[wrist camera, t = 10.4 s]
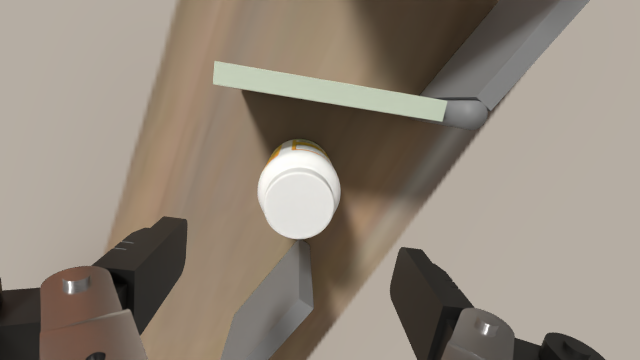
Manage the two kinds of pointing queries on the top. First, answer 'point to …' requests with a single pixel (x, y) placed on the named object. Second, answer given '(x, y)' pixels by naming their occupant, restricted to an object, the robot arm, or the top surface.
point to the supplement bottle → (299, 189)
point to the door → (327, 91)
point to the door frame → (461, 111)
